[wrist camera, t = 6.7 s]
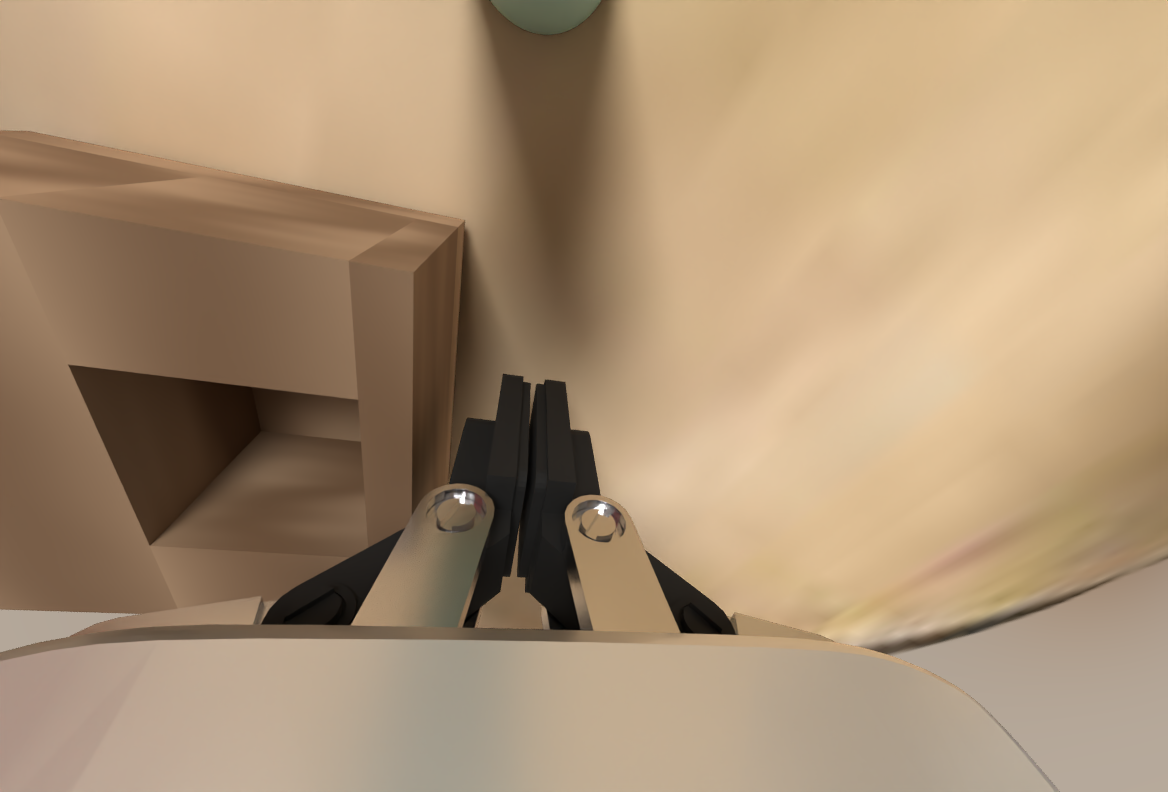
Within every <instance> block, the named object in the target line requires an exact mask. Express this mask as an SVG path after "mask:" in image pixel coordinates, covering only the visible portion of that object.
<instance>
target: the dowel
mask: <svg viewBox="0 0 1168 792" xmlns="http://www.w3.org/2000/svg"><path fill="white" fill-rule="evenodd" d="M490 1H491V2H492V4H493V5H494V6H495V7H496V9H497V10H498V11H499V12H500V13H501V14H502V15H503V16H504V17H505V18H507V19H508V20H509V21H510V22H512V23H513V24H515V25H516V26H518V27H520V28H522V29H524V30H526V31H529V32H532V33H536V34H542V35H552V34H559V33H563V32H566V31H569V30H571V29H573V28H575V27H577V26H578V25H579V24H581V23H582V22H583V21H585V20H586V19H587V18H588V17H589V16H590V15H591V14H592V13H593V12H594V10H595V9H596V8H597V6H598V5H599V4H600V2H601V0H490Z"/></svg>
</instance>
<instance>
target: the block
mask: <svg viewBox="0 0 1168 792" xmlns="http://www.w3.org/2000/svg"><path fill="white" fill-rule="evenodd" d="M464 226H465V220H461V219H456V218H451V217H446V216H441V215H437V214H432V213H427V212H422V211H417V210H412V209H407V208H402V207H397V206H393V205H388V204H383V203H378V202H373V201H368V200H363V199H358V198H353V197H349V196H344V195H339V194H334V193H329V192H324V191H319V190H314V189H309V188H304V187H300V186H295V185H290V184H285V183H280V182H275V181H270V180H265V179H260V178H256V177H251V176H246V175H241V174H236V173H231V172H226V171H221V170H216V169H211V168H207V167H202V166H197V165H192V164H187V163H182V162H177V161H172V160H167V159H163V158H158V157H153V156H148V155H143V154H138V153H133V152H128V151H123V150H118V149H114V148H109V147H104V146H99V145H94V144H89V143H84V142H79V141H74V140H70V139H65V138H60V137H55V136H50V135H45V134H40V133H35V132H30V131H0V609H6V610H37V611H70V612H101V613H131V614H146V613H152V612H159V611H165V610H172V609H178V608H185V607H192V606H198V605H205V604H211V603H218V602H225V601H231V600H238V599H244V598H251V597H258V596H262V598H263V602H267V601H274V600H278V599H279V598H280V597H281V596H283V595H284V594H286V593H287V592H289V591H290V590H292V589H293V588H295V587H296V586H298V585H300V584H301V583H303V582H305V581H307V580H309V579H311V578H313V577H314V576H316V575H318V574H320V573H322V572H324V571H326V570H327V569H329V568H331V567H333V566H335V565H337V564H339V563H340V562H342V561H344V560H346V559H348V558H350V557H352V556H353V555H355V554H357V553H359V552H361V551H363V550H365V549H366V548H368V547H370V546H372V545H374V544H376V543H378V542H379V541H381V540H383V539H385V538H387V537H389V536H391V535H392V534H394V533H396V532H398V531H400V530H402V529H404V528H405V527H406V525H407V524H408V522H409V520H410V518H411V517H412V515H413V513H414V511H415V509H416V508H417V506H418V504H419V502H420V501H421V500H422V499H423V497H424V496H425V495H426V494H428V493H429V492H431V491H432V490H434V489H435V488H438V487H441V486H444V485H448V475H449V460H450V444H451V429H452V413H453V397H454V382H455V366H456V351H457V335H458V319H459V304H460V288H461V272H462V257H463V241H464Z"/></svg>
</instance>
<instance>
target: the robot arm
mask: <svg viewBox="0 0 1168 792" xmlns="http://www.w3.org/2000/svg"><path fill="white" fill-rule="evenodd" d="M530 389H531V383H528V382H523V376H515V375H507V374H503V378H502V385H501V391H500V397H499V404H498V410H497V416H496V421H491V420H482V419H473V418H467V419H466V422H465V426H464V430H463V434H462V437H461V441H460V445H459V449H458V452H457V456H456V460H455V464H454V467H453V471H452V475H451V479H450V482H449V484H448V485H444V486H441V487H438V488H435V489H434V490H432V491H431V492H429V493H428V494H426V495H425V496H424V497H423V499H422V500H421V501H420V502H419V504H418V506H417V508H416V509H415V511H414V513H413V515H412V517H411V518H410V520H409V522H408V524H407V525H406V527H405V528H404V529H402V530H400V531H398V532H396V533H394V534H392V535H391V536H389V537H387V538H385V539H383V540H381V541H379V542H378V543H376V544H374V545H372V546H370V547H368V548H366V549H365V550H363V551H361V552H359V553H357V554H355V555H353V556H352V557H350V558H348V559H346V560H344V561H342V562H340V563H339V564H337V565H335V566H333V567H331V568H329V569H327V570H326V571H324V572H322V573H320V574H318V575H316V576H314V577H313V578H311V579H309V580H307V581H305V582H303V583H301V584H300V585H298V586H296V587H295V588H293V589H292V590H290V591H289V592H287V593H286V594H284V595H283V596H281V597H280V598H279V599H278V600H274V601H267V602H263V598H262V596H258V597H251V598H244V599H238V600H231V601H225V602H218V603H211V604H205V605H198V606H192V607H185V608H178V609H172V610H165V611H159V612H152V613H146V614H139V615H132V616H126V617H119V618H115V619H112V620H108V621H104V622H100V623H97V624H94V625H92V626H90V627H88V628H86V629H84V630H82V631H79V632H77V633H75V634H73V635H71V636H70V637H66V638H61V639H56V640H50V641H44V642H39V643H35V644H31V645H27V646H24V647H20V648H16V649H12V650H8V651H4V652H0V792H1060V791H1059V790H1058V789H1057V787H1056V786H1055V785H1054V784H1053V782H1051V780H1050V779H1049V778H1048V777H1047V776H1046V774H1045V773H1044V772H1043V771H1042V770H1041V769H1040V768H1039V766H1038V765H1037V764H1036V763H1035V762H1034V761H1033V759H1032V758H1031V757H1030V756H1029V755H1028V754H1027V753H1026V751H1025V750H1024V749H1023V748H1022V747H1021V746H1020V745H1019V743H1018V742H1017V741H1016V740H1015V739H1014V738H1013V737H1012V736H1011V735H1010V734H1009V733H1008V732H1007V730H1006V729H1005V728H1004V727H1003V726H1001V724H1000V723H999V722H998V721H997V720H996V719H995V718H994V717H993V716H992V715H991V714H990V713H989V712H988V711H987V710H986V709H985V708H983V707H982V706H981V705H980V704H979V703H978V702H977V701H976V700H974V699H973V698H972V697H970V696H969V695H968V694H966V693H965V692H964V691H962V690H961V689H960V688H958V687H957V686H955V685H953V684H951V683H950V682H948V681H946V680H944V679H943V678H941V677H939V676H937V675H935V674H933V673H931V672H929V671H927V670H925V669H923V668H920V667H918V666H915V665H913V664H911V663H908V662H906V661H903V660H900V659H898V658H896V657H893V656H890V655H887V654H883V653H880V652H876V651H873V650H869V649H866V648H862V647H857V646H852V645H846V644H841V643H836V642H834V641H833V640H830V639H828V638H826V637H823V636H821V635H818V634H814V633H810V632H807V631H803V630H799V629H795V628H792V627H788V626H784V625H780V624H777V623H773V622H769V621H765V620H762V619H758V618H754V617H750V616H747V615H743V614H739V613H734V614H733V616H732V617H729V616H726V614H725V613H724V611H723V610H721V609H720V608H719V607H718V606H717V605H716V604H715V603H714V602H713V601H711V600H710V599H709V598H707V597H706V596H705V595H703V594H702V593H701V592H700V591H698V590H697V589H696V588H694V587H693V586H692V585H690V584H689V583H688V582H686V581H685V580H684V579H682V578H681V577H680V576H679V575H677V574H676V573H675V572H673V571H672V570H671V569H669V568H668V567H667V566H665V565H664V564H663V563H661V562H660V561H659V560H658V559H656V558H655V557H654V556H652V555H651V554H650V553H648V552H647V551H646V550H645V549H644V547H643V544H642V542H641V540H640V537H639V535H638V533H637V530H636V528H635V526H634V523H633V521H632V519H631V517H630V515H629V514H628V512H627V511H626V510H625V509H624V508H623V507H622V506H621V505H620V504H619V503H617V502H615V501H613V500H612V499H610V498H606V497H603V496H601V495H600V489H599V484H598V478H597V472H596V467H595V461H594V455H593V449H592V444H591V438H590V434H589V432H588V431H580V430H571V429H570V420H569V411H568V402H567V393H566V384H565V382H560V381H553V380H545V382H544V385H543V384H537V385H536V390H535V396H534V402H533V408H532V414H531V420H530V426H529V417H530ZM519 523H520V528H519ZM518 529H519V547H518V567H517V577H526V579H525V592H527V593H530V594H531V595H532V596H533V597H534V598H535V599H536V600H537V601H539V602H540V603H541V604H542V607H541V619H542V625H543V630H541V629H498V628H477V626H478V623H479V619H480V616H481V609H482V606H483V605H484V604H485V603H487V602H488V601H489V600H490V599H492V598H493V597H494V596H495V595H497V594H498V593H499V592H500V590H501V583H502V577H503V576H505V577H510V574H511V568H512V563H513V557H514V551H515V546H516V540H517V534H518Z"/></svg>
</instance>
